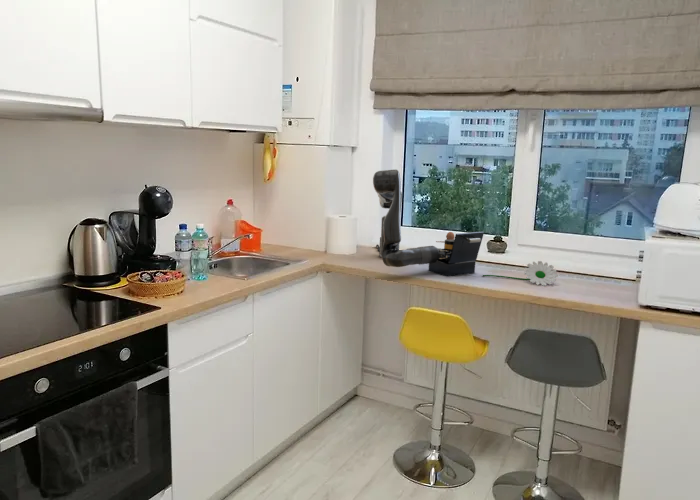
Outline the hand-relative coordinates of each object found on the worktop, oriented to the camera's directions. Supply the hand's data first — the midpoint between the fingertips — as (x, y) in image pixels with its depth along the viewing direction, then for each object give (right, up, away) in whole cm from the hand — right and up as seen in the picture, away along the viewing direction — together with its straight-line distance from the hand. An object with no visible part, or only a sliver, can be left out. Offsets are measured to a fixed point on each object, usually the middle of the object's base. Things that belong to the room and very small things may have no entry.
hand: (453, 252), depth 237 cm
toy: (+1, -5, +18) cm, 19 cm away
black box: (-1, -9, -1) cm, 9 cm away
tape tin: (-2, -8, 0) cm, 8 cm away
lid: (+3, +2, -10) cm, 10 cm away
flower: (+25, -12, -12) cm, 30 cm away
